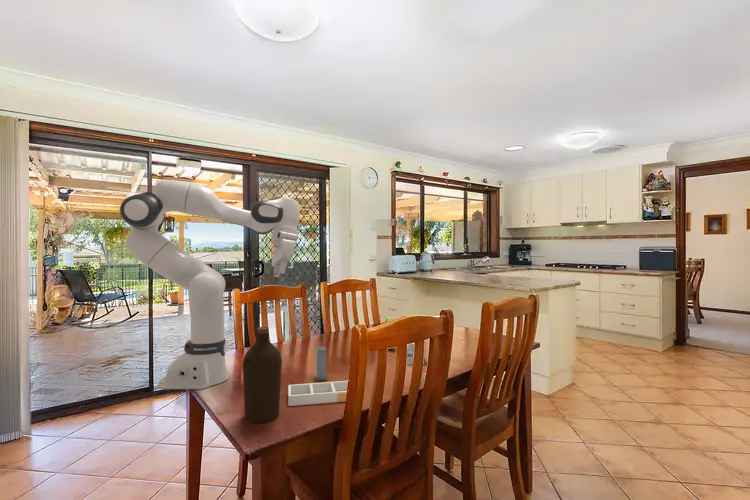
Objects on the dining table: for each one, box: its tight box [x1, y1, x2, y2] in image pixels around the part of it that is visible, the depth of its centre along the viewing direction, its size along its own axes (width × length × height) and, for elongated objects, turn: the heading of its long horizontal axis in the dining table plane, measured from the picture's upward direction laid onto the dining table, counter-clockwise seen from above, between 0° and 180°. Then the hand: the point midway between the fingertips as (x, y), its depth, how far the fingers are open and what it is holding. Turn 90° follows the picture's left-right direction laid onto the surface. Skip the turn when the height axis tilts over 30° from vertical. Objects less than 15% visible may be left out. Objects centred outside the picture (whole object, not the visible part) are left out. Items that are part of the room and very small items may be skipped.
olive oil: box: [242, 326, 283, 424], centre depth 107 cm, size 11×11×25 cm
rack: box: [287, 380, 349, 407], centre depth 120 cm, size 21×10×3 cm, turn 103°
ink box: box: [406, 340, 427, 365], centre depth 158 cm, size 8×5×12 cm, turn 88°
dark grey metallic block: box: [315, 345, 328, 381], centre depth 138 cm, size 4×5×11 cm
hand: (279, 275), depth 139 cm, fingers open, 8 cm apart
